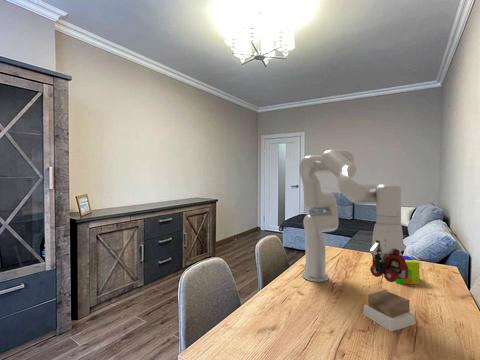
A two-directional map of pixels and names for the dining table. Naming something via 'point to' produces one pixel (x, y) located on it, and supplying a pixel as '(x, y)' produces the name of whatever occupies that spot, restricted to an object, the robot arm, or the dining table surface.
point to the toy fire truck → (392, 267)
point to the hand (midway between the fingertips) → (388, 270)
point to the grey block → (389, 319)
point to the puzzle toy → (411, 271)
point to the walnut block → (388, 303)
